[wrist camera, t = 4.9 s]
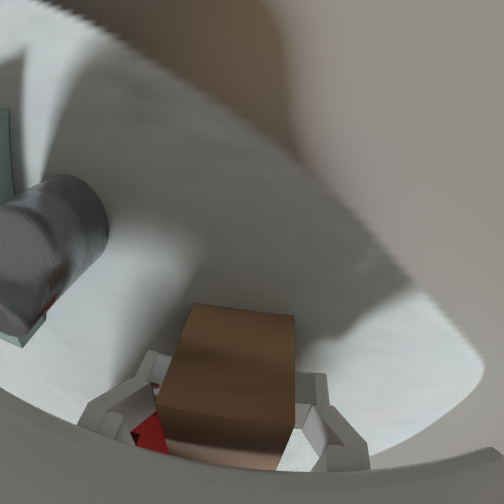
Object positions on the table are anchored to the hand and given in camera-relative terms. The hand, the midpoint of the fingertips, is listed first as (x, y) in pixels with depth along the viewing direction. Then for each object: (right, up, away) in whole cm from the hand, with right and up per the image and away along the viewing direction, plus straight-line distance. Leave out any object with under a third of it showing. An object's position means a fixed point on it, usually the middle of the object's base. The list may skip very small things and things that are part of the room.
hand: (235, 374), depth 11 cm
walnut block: (0, +1, +1) cm, 2 cm away
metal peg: (-7, +6, -1) cm, 9 cm away
